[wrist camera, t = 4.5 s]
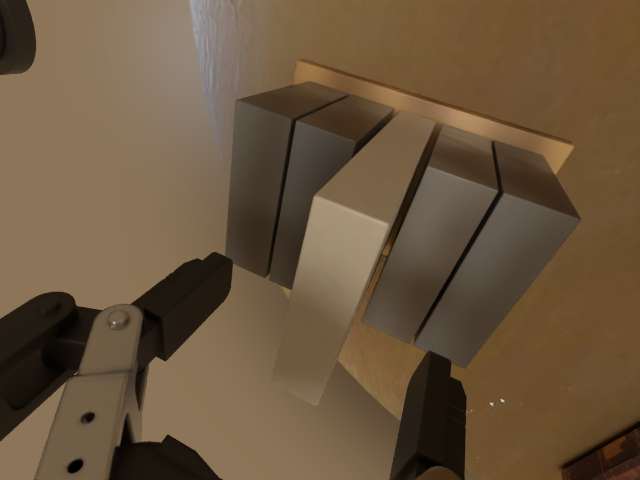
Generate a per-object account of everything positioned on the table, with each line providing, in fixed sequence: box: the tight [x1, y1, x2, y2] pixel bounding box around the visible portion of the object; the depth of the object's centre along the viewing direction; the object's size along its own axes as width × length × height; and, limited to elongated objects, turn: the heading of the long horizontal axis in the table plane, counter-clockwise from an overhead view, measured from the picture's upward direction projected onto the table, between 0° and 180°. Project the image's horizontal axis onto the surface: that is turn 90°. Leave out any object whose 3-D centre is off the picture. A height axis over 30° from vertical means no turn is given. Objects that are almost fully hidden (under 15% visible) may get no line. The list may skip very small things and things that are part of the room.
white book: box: [271, 111, 436, 406], centre depth 19 cm, size 2×10×15 cm, turn 167°
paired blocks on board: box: [225, 59, 581, 369], centre depth 21 cm, size 18×12×10 cm, turn 77°
